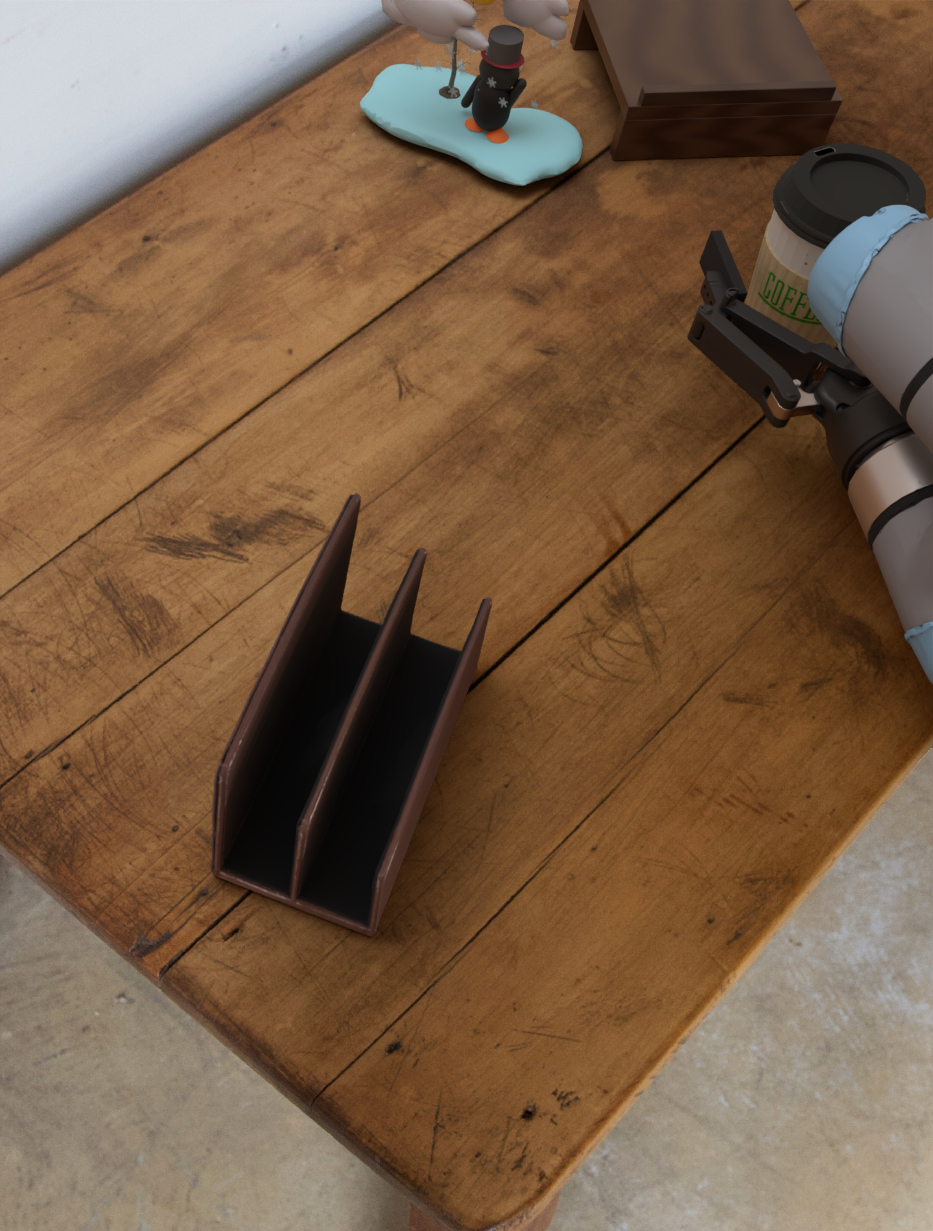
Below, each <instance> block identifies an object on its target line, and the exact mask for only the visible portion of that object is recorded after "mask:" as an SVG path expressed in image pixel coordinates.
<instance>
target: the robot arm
mask: <svg viewBox="0 0 933 1231" xmlns="http://www.w3.org/2000/svg"><path fill="white" fill-rule="evenodd" d="M698 264H699V265H700V268H701V271H702V274H703V276H704V279H703V282H702V283H701V286H700V291H699V293H700V296H701V298H702V301H703V303H704V304H701V305H699V306H698V308H697V311H696V313H695V316H694V317H693V320H692V323H691V326H690V329H689V331H688V333H687V336H686V338H687V340H688V341H689V342H690V343H691V344H692V345H693V346H694V347H695V348H696V349H697V350H698V351H699V352H701V353H702V354H703V355H704V356H705V357H706V358H707V359H708V360H709V361H711V363H713V364H714V366H716V367H717V368H718V369H719V370H721V371H722V372H723V373H724V374H725V375H726V376H728V378H729V379H730V380H732V381H733V382H734V383H735V384H736V385H737V386H738V387H739V388H740V389H741V390H742V391H744V392H745V393H746V394H747V395H748V396H749V397H750V398H751V399H753V400H754V402H755V403H756V404H758V405H759V407H760V409H761V411H762V412H763V414H764V416H765V418H766V420H767V421H768V424H770V425H771V426H772V427H774V428H777V429H783V428H785V427H787V425H788V424H789V421H790V419H791V418H795V417H803V416H804V417H805V416H809V415H810V416H812V417H813V418H814V419H815V420H816V421H818V422H819V423H820V424H821V426H823V429H824V433H825V440H826V446H827V451H828V454H829V457H830V458H831V461H832V464H833V466H834V468H835V470H836V472H837V475H838V477H839V480H840V482H841V484H842V486H843V488H844V489H845V490H846V492H847V496H848V498H849V499H848V500H849V502H850V504H851V506H852V508H853V512H854V513H855V516H856V518H857V521H858V523H859V525H860V527H861V530H862V532H863V534H864V535H863V536H864V538H865V539H866V541H867V542H866V543H867V544H868V546H869V548H870V550H871V554H872V556H873V557H874V558H875V560H876V562H877V565H878V567H879V570H880V572H881V575H882V577H883V580H884V582H885V585H886V588H887V590H888V594H889V595H890V598H891V601H892V603H893V606H894V608H895V610H896V611H895V612H896V613H897V616H898V618H899V621H900V624H901V626H902V628H903V631H904V634H903V636H904V641H905V642H906V643H907V644H908V645H910V647H911V648H912V651H913V653H914V655H915V656H916V658H917V660H918V663H919V665H920V667H921V668H922V670H923V672H924V673H925V675H926V678H927V679H928V681H929V682H930V683H931V684H932V685H933V217H931V218H930V217H929V216H928V215H927V213H926V214H921V213H920V212H918V211H917V210H916V209H914V208H912V207H910V206H906V205H891V206H886V207H883V208H881V209H880V210H878V211H877V212H876V213H875V214H874V215H873V216H871V217H867V216H863V217H861V218H860V219H858V220H856V221H855V222H853V223H852V224H851V225H849V226H848V227H846V228H845V229H844V230H843V231H842V232H841V233H839V234H838V235H837V236H836V237H835V238H834V239H833V240H832V241H831V243H830V244H829V245H828V246H827V247H826V249H825V250H824V251H823V253H822V254H821V255H820V257H819V258H818V260H817V262H816V263H815V265H814V267H813V269H812V272H811V275H810V278H809V281H808V287H807V296H808V299H809V303H810V305H809V307H810V309H811V310H812V312H813V313H814V314H815V315H816V317H817V318H818V319H819V321H820V322H821V323H822V325H823V326H824V327H825V328H826V330H827V331H828V332H829V334H830V335H831V336H832V338H833V339H834V340H835V341H836V343H837V344H836V345H837V349H836V348H835V347H834V346H833V347H831V346H829V345H828V344H826V343H823V342H820V343H818V344H813V343H811V342H810V341H808V340H806V339H804V338H803V337H801V336H799V335H798V334H796V333H794V332H792V331H791V330H789V329H787V328H786V327H784V326H782V325H780V324H779V323H777V322H775V321H774V320H772V319H770V318H768V317H767V316H765V315H763V314H762V313H760V312H758V311H757V310H755V309H753V308H751V307H750V306H748V305H746V304H745V301H746V297H747V294H748V290H747V288H746V285H745V283H744V281H743V278H742V276H741V273H740V271H739V269H738V266H737V264H736V261H735V259H734V257H733V255H732V252H731V249H730V247H729V245H728V243H727V240H726V237H725V235H724V233H723V230H722V229H721V230H710V233H709V235H708V237H707V240H706V243H705V246H704V249H703V251H702V253H701V255H700V259H699V261H698ZM820 363H821V365H823V366H826V368H825V370H824V372H823V373H822V375H821V377H820V379H819V381H817V380H816V379H815V377H814V376H815V373H816V372H817V370H818V369H819V367H820V366H819V364H820ZM818 366H819V367H818ZM817 368H818V369H817Z"/></svg>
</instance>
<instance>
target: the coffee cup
mask: <svg viewBox="0 0 933 1231" xmlns="http://www.w3.org/2000/svg"><path fill="white" fill-rule="evenodd" d="M771 196H772V199H771V201H772V205H773V211H772V215H771V218H770V219H769V221H768V223H767V225H766V228H765V230H764V234H763V237H762V241H761V245H760V248H759V253H758V255H757V259H756V263H755V266H754V270H753V273H752V277H751V280H750V283H749V287H748V290H747V292H748V294H747V296H746V299H745V301H744V303H745V304H746V305H748V306H750V307H751V308H753V309H755V310H757V311H758V312H760V313H762V314H763V315H765V316H767V317H768V318H770V319H772V320H774V321H775V322H777V323H779V324H780V325H782V326H784V327H786V328H787V329H789V330H791V331H792V332H794V333H796V334H798V335H799V336H801V337H803V338H804V339H806V340H808V341H810V342H811V343H813V344H818V343H820V342H823V343H826V344H828V345H829V346H831V347H833V348H834V347H835V346H836V345H838V344H837V343H836V341H835V340H834V339H833V338H832V336H831V335H830V334H829V332H828V331H827V330H826V328H825V327H824V326H823V325H822V323H821V322H820V321H819V319H818V318H817V317H816V315H815V314H814V313H813V312H812V310H811V309H810V307H809V305H810V303H809V299H808V296H807V287H808V281H809V278H810V275H811V272H812V269H813V267H814V265H815V263H816V262H817V260H818V258H819V257H820V255H821V254H822V253H823V251H824V250H825V249H826V247H827V246H828V245H829V244H830V243H831V241H832V240H833V239H834V238H835V237H836V236H837V235H838V234H839V233H841V232H842V231H843V230H844V229H845V228H846V227H848V226H849V225H851V224H852V223H853V222H855V221H856V220H858V219H860V218H861V217H863V216H867V217H871V216H873V215H874V214H875V213H876V212H877V211H878V210H880V209H881V208H883V207H886V206H891V205H906V206H910V207H912V208H914V209H916V210H917V211H918V212H920V213H921V214H926V215H927V212H926V201H927V189H926V187H925V184H924V181H923V180H922V179H921V177H920V176H919V174H918V173H917V172H916V171H915V170H914V169H913V168H912V167H911V166H910V165H909V164H907V163H906V162H905V161H904V160H902V159H900V158H898V157H896V156H894V155H893V154H891V153H889V152H887V151H884V150H882V149H879V148H876V147H875V148H874V147H871V146H868V145H862V144H856V143H845V142H841V143H829V144H823V146H819V147H817V148H814V149H812V150H809V151H808V152H806V153H805V154H801V156H800V157H799V159H798V160H797V161H796V162H795V163H794V164H792V165H790V166H789V167H788V168H786V170H785V171H784V172H783V173H782V174H781V175H780V177H779V178H778V179H777V181H776V182H775V185H774V186H773V190H772V195H771ZM821 365H822V363H820V364H819V366H818V368H817V370H818V369H819V368H820V366H821Z"/></svg>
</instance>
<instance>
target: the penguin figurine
mask: <svg viewBox="0 0 933 1231" xmlns="http://www.w3.org/2000/svg"><path fill="white" fill-rule="evenodd" d="M380 1H381V2H380V3H381V9H382V13H384V14H385V15H386V16H387V17H388V18H389V19H391V20H393V21H395V22H396V23H399V24H400V25H403V26H407V27H411V28H412V27H413V28H414V27H415V28H417V34H418V35H419V36H420V37H422V38H424V39H426V40H427V41H429V42H430V43H434V44H437V45H443V46H444V47H445V46H446V47H445V50H446V51H444V54H446V55H447V56H449V57H447V58H448V60H449V59H450V57H451V61H448V60H447V62H449V63H450V64H451V68H450V67H449V68H448V67H444V66H443V65H441V63H440V62H441V61H437V62H436V61H434V63H433V64H434V66H423V63H420V58H417V60H416V59H415V58H413V62H414V64H409V63H397V64H392V65H389V66H387V67H386V68H384V69H383V70H382V71H381V72H379V74H378V75H376V77H375V79H374V80H373V83H372V85H371V88H370V89H369V90H368V92H367V93H365V94H364V96H363V97H362V98H361V100H360V101H359V106H360V109H361V111H362V112H363V114H364V115H365V116H366V117H367V118H368V119H369V120H370V121H372V122H373V123H374V124H376V125H377V126H378V127H379V128H381V129H383V131H385V132H387V133H388V134H390V135H392V136H394V137H397V138H399V139H401V140H402V141H406V142H408V143H411V144H414V145H417V146H420V147H424V148H427V149H430V150H432V151H433V150H434V151H436V152H439V153H442V154H445V155H448V156H452V157H454V158H456V159H457V160H459V161H462V162H464V163H466V164H467V165H469V166H470V167H472V168H473V169H474V170H475V171H477V172H479V173H480V174H482V175H483V176H485V177H488V178H490V179H492V180H495V181H498V182H500V183H505V184H507V185H513V186H518V187H519V186H520V187H524V186H527V185H529V184H530V185H531V184H532V183H534V182H537V181H541V180H545V179H550V178H554V177H558V176H560V175H562V174H564V173H566V172H568V171H569V170H570V169H571V168H572V167H574V166H575V165H576V164H577V163H578V162H579V161H580V160H581V159H580V158H582V156H583V154H582V152H583V149H584V146H583V139H582V137H581V135H580V132H579V131H578V129H577V128H576V127H575V126H574V125H573V124H572V123H571V122H569V121H567V120H566V119H564V118H563V117H560V116H559V115H557V114H554V113H552V112H549V111H547V110H542V109H539V108H538V106H540V104H537V103H536V102H537V99H535V100H534V101H533V100H530V102H531V103H530V106H532V107H513V106H514V105H515V104H516V102H517V101H518V99H519V97H520V96H523V92H524V91H525V89H526V87H527V85H528V82H527V80H526V79H525V78H523V77H522V78H520V72H521V71H522V69H523V65H524V63H525V57H524V55H523V53H522V50H523V45H524V41H525V40H524V39H525V32H524V31H522V29H520V28H519V27H522V28H529V29H530V28H531V29H532V30H533V31H535V32H536V33H537V34H539V35H541V36H543V37H544V38H548V39H549V40H550V43H551V50H552V49H554V48H555V49H558V46H557V45H559V42H558V41H562V40H564V39H565V38H566V35H567V32H568V24H567V22H566V20H564V18H563V17H568V16H569V14H570V6H569V5H570V4H569V3H568V1H567V0H501V1H502V12H503V17H504V19H505V20H506V21H508V22H510V23H512V24H514V25H516V26H514V25H510V24H499V25H496V26H492V27H491V29H489V32H488V36H487V37H488V38H487V37H486V36H485V35H484V34H483V33H482V32H481V31H480V30H478V29H477V28H476V27H474V26H475V25H476V22H477V23H479V21H482V20H483V18H481V19H478V16H479V14H478V11H479V9H475V4H476V5H479V6H489V5H492V4H494V3H495V2H496V1H497V0H470V1H471V4H472V5H471V4H469V3H468V2H467V1H465V0H380ZM478 20H479V21H478ZM479 25H480V26H482V23H479ZM517 26H519V27H517ZM458 42H460V43H462V44H464V45H465V46H467V47H468V48H467V50H466V51H468V52H470V54H469V55H470V57H472V55H474V56H477V53H476V52H477V51H478V52H479V51H480V56H481V61H480V62H479V67H478V75H477V76H476V75H473V74H471V73H468V72H467V69H466V68H465V66H466V63H467V64H469V65H471V63H470V62H468V61H465V60H463V59H460V60H457V55H458V56H459V54H460V53H461V52H458V51H457V50H458ZM443 61H444V62H446V59H442V62H443ZM464 61H465V62H464Z"/></svg>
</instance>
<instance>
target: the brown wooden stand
mask: <svg viewBox="0 0 933 1231" xmlns="http://www.w3.org/2000/svg"><path fill="white" fill-rule="evenodd" d="M569 40H570V44H571V46H572V49H573V50H574V51H575V50H576V51H577V50H579V51H580V50H598V51H599V54H600V57H601V59H602V62H603V64H604V68H605V70H606V72H607V75H608V78H609V81H610V84H611V86H612V89H613V92H614V94H615V96H616V100H617V102H618V104H619V105H618V106H619V107H620V111H619V114H618V118H617V121H616V124H615V129H614V132H613V136H612V139H611V143H610V146H609V152H610V155H611V158H612V160H613V161H637V160H638V161H639V160H640V161H641V160H643V161H644V160H668V159H669V160H670V159H673V160H674V159H697V158H699V159H700V158H730V157H731V158H733V157H760V156H762V157H763V156H789V155H790V156H793V155H803V154H805V153H806V152H808V151H809V150H812V149H814V148H817V147H819V146H824V143H825V141H826V139H827V137H828V134H829V132H830V130H831V127H832V125H833V123H834V120H835V118H836V116H837V114H838V112H839V110H840V109H841V108H840V107H841V105H842V104H843V98H842V97H841V95H840V92H839V90H838V88H837V84H836V83H835V81H834V80H833V79H832V78H831V76H830V74H829V72H828V70H827V68H826V66H825V64H824V63H823V60H822V59H821V57H820V55H819V53H818V52H817V49H816V48H815V45H814V44H813V42H812V40H811V38H810V37H809V35H808V33H807V31H806V29H805V27H804V25H803V23H802V21H801V20H800V18H799V16H798V14H797V12H796V11H795V8H794V7H793V4H792V3H791V1H790V0H579V1H578V6H577V10H576V13H575V19H574V22H573V26H572V31H571V35H570V39H569Z"/></svg>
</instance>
